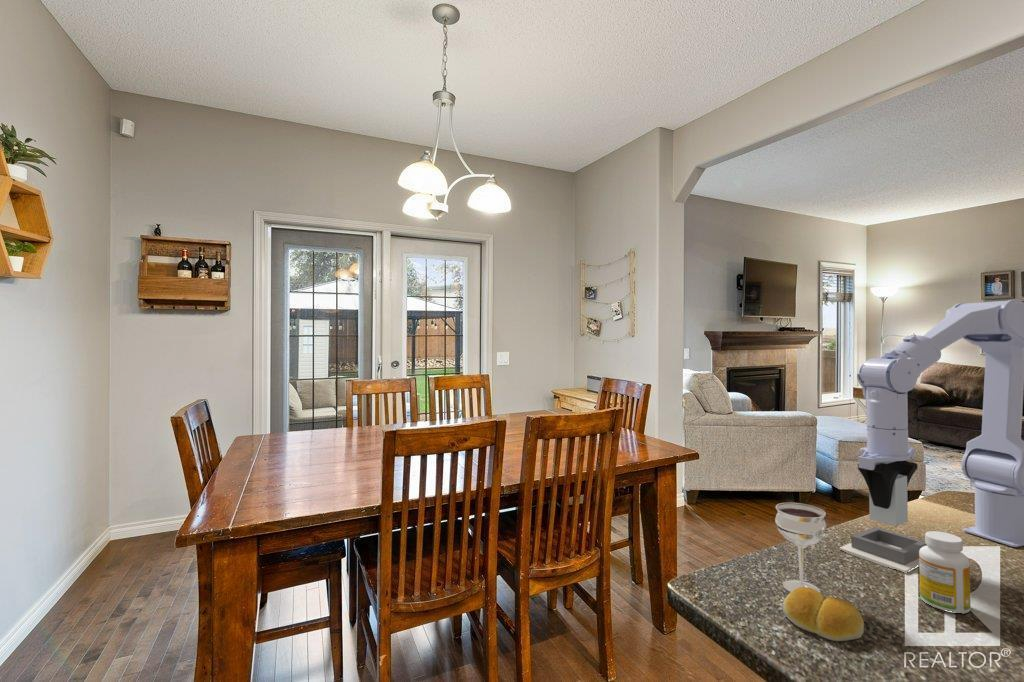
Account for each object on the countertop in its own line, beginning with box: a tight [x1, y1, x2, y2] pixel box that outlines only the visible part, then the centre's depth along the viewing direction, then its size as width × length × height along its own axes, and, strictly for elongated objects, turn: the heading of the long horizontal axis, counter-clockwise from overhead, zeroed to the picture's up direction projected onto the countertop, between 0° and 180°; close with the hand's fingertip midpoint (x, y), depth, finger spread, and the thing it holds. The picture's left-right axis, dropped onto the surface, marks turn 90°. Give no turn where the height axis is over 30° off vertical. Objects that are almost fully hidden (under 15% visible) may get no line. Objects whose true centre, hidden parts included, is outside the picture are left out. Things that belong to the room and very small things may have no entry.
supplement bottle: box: [919, 530, 972, 615], centre depth 69 cm, size 5×5×10 cm
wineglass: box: [774, 502, 827, 594], centre depth 74 cm, size 7×7×12 cm
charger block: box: [868, 474, 909, 528], centre depth 85 cm, size 4×4×8 cm
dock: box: [838, 526, 927, 574], centre depth 85 cm, size 12×10×2 cm
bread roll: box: [781, 587, 865, 642], centre depth 65 cm, size 8×9×4 cm
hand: (888, 504), depth 85 cm, fingers closed on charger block, 4 cm apart
